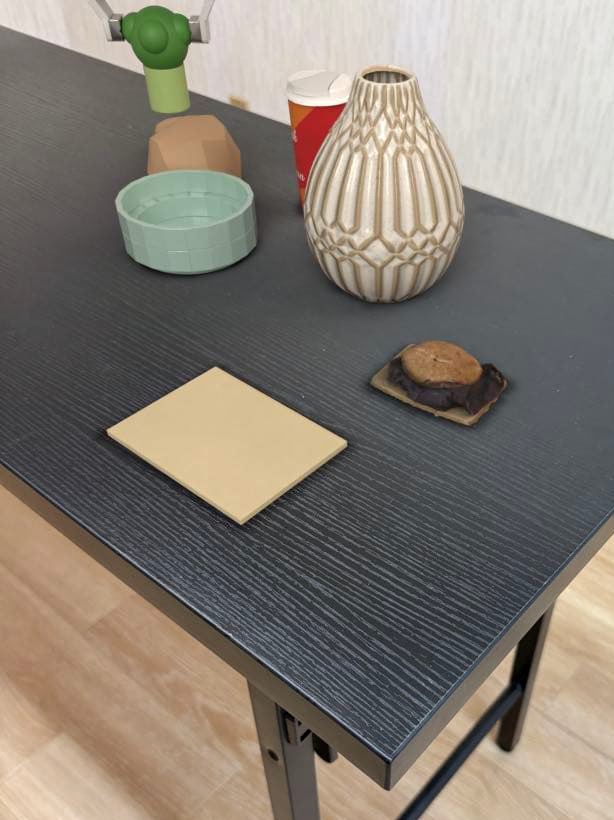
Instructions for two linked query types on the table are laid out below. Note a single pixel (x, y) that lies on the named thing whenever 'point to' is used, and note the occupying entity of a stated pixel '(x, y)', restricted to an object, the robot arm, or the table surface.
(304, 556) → the table surface
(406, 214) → the vase
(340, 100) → the paper cup
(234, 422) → the mat
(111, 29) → the robot arm
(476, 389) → the brown round-topped food
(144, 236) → the bowl
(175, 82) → the broccoli
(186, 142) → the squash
